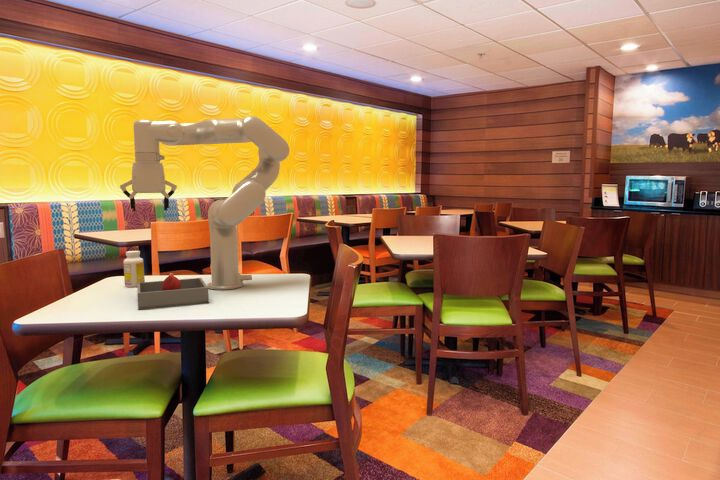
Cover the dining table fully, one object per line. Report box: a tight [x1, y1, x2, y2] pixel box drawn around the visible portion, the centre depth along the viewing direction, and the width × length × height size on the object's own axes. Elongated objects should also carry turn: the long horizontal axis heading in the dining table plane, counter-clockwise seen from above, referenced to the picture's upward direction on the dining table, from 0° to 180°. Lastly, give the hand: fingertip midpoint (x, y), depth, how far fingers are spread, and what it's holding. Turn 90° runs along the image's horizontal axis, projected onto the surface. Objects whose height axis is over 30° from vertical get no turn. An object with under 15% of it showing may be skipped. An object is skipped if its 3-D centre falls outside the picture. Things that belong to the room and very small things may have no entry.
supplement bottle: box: [123, 250, 146, 288], centre depth 177 cm, size 7×7×13 cm
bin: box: [136, 277, 210, 311], centre depth 154 cm, size 20×18×5 cm
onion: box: [162, 272, 181, 291], centre depth 154 cm, size 6×6×8 cm
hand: (150, 210), depth 161 cm, fingers open, 9 cm apart
